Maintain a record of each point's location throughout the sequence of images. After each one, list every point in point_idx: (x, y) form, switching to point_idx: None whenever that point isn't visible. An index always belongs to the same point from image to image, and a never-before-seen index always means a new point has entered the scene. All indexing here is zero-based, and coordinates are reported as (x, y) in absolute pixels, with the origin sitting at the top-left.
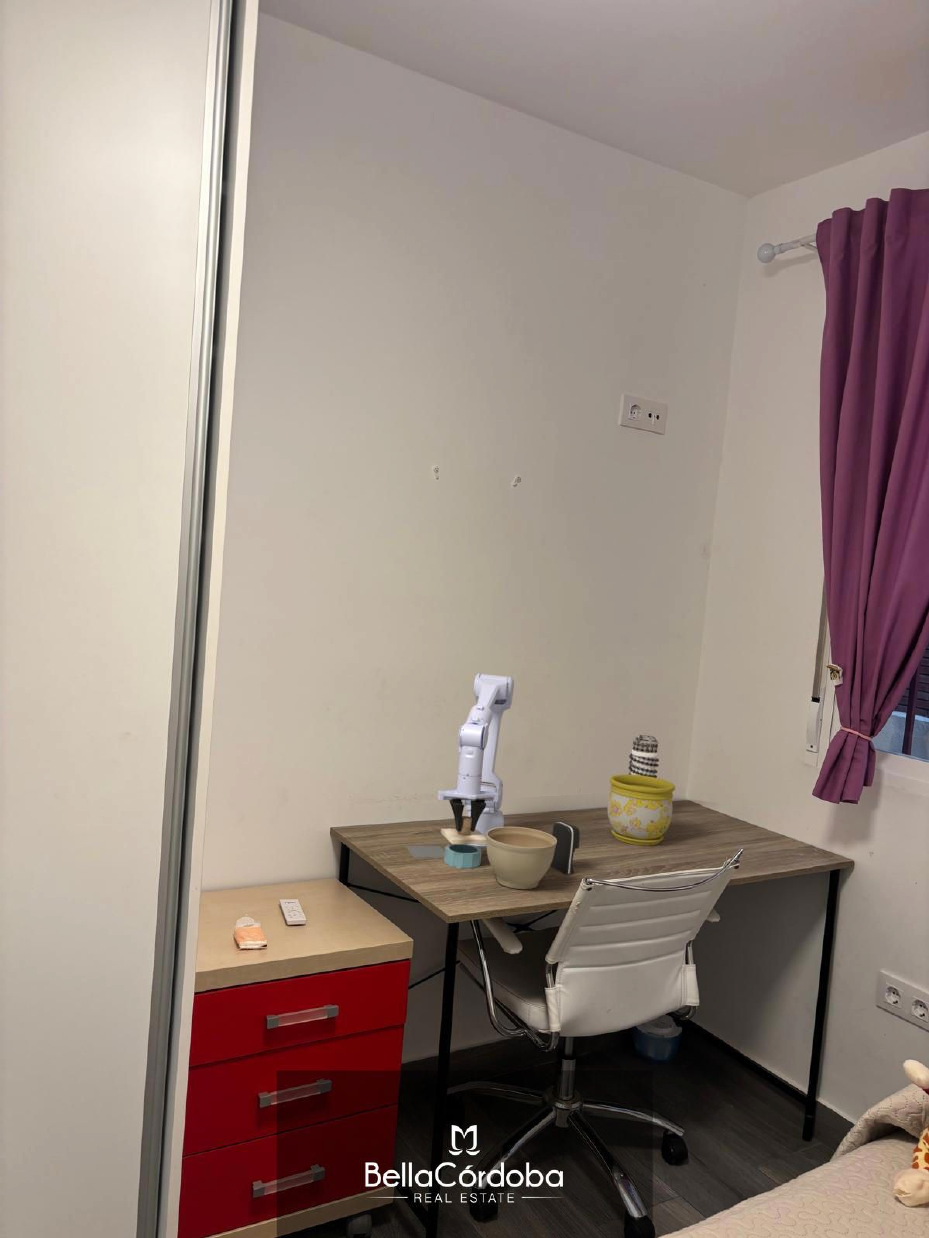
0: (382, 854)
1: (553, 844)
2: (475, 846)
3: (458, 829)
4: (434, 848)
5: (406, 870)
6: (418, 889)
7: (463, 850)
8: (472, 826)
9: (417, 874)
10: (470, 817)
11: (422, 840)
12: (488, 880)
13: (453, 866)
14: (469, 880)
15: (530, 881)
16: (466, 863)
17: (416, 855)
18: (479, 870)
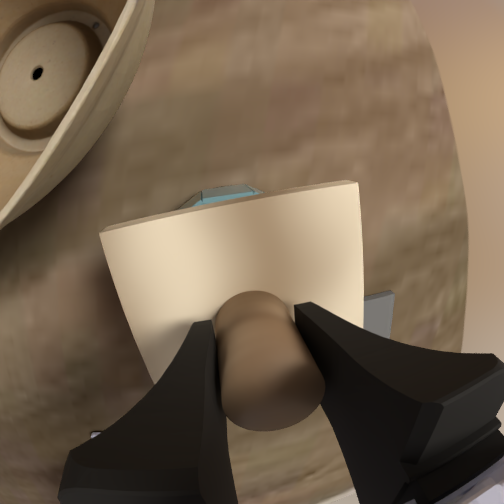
0: (445, 313)
1: None
2: None
3: (315, 305)
4: None
5: (430, 174)
6: (408, 6)
7: None
8: (212, 337)
9: (407, 133)
10: (234, 412)
11: (312, 444)
12: (150, 77)
13: None
14: (231, 67)
15: (24, 1)
16: (229, 188)
17: (380, 311)
18: (166, 201)
